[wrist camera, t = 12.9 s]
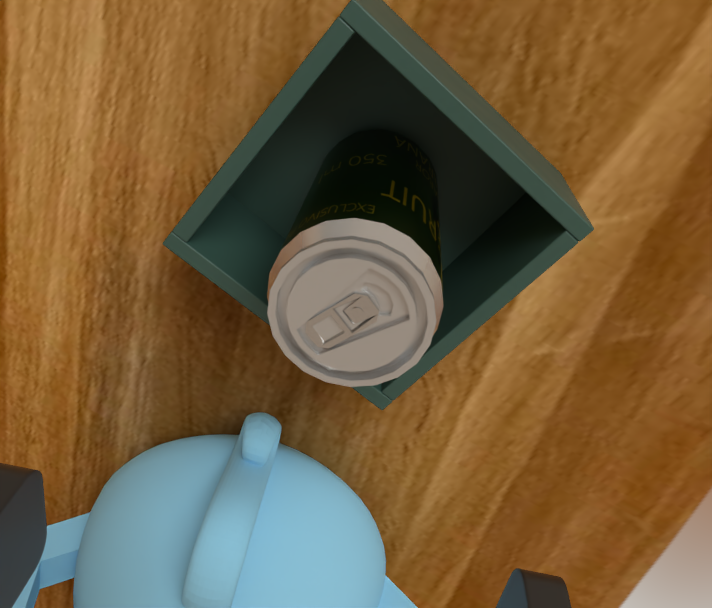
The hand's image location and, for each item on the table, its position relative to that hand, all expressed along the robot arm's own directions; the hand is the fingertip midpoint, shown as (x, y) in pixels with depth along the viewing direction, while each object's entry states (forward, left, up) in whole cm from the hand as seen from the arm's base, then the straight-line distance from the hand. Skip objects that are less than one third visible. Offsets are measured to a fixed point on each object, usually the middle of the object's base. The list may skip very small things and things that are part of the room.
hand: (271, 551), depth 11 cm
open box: (0, +1, -21) cm, 21 cm away
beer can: (0, +1, -21) cm, 21 cm away
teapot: (+23, +10, -22) cm, 33 cm away
